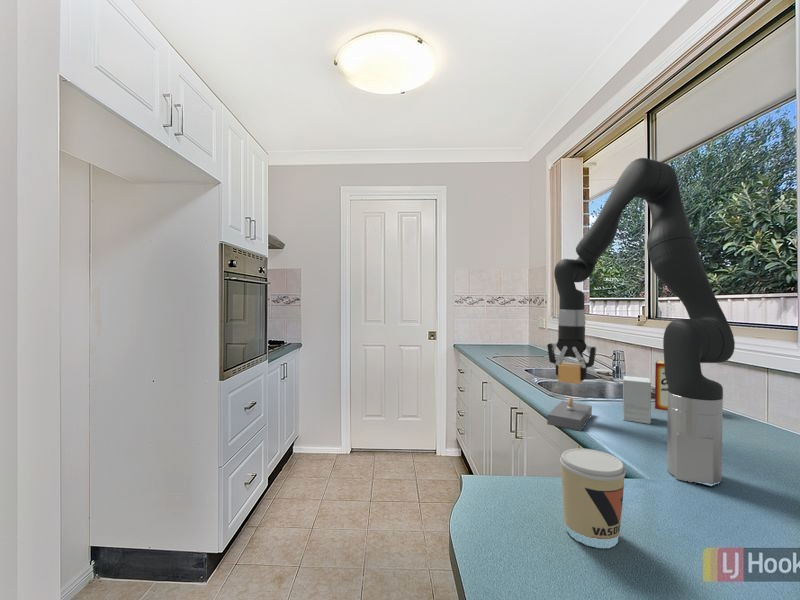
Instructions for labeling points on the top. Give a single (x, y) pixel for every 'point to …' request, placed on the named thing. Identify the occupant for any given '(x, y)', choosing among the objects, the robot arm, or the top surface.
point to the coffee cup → (592, 492)
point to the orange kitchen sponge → (569, 373)
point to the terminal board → (569, 415)
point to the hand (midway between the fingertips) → (570, 378)
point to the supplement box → (637, 399)
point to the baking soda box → (661, 387)
